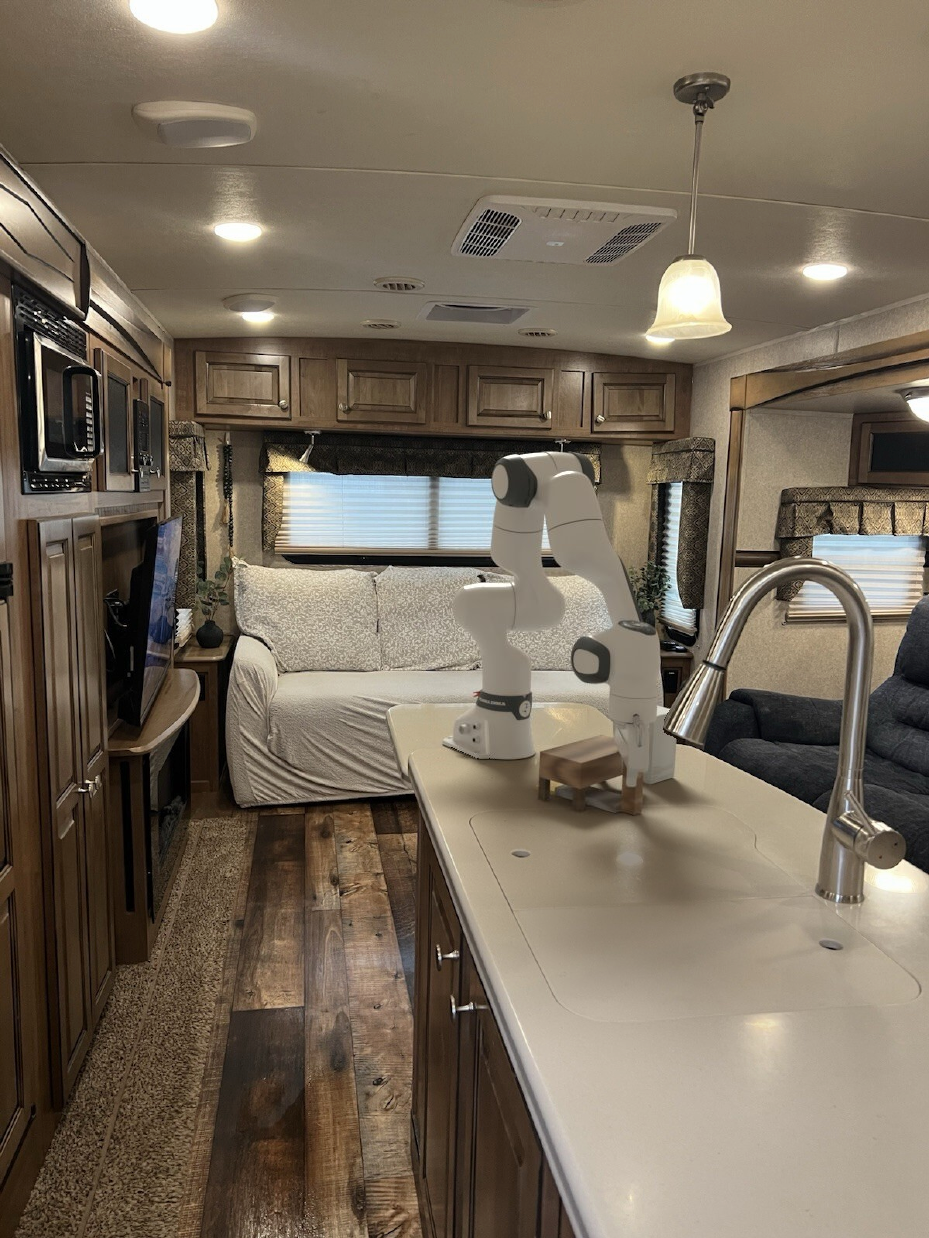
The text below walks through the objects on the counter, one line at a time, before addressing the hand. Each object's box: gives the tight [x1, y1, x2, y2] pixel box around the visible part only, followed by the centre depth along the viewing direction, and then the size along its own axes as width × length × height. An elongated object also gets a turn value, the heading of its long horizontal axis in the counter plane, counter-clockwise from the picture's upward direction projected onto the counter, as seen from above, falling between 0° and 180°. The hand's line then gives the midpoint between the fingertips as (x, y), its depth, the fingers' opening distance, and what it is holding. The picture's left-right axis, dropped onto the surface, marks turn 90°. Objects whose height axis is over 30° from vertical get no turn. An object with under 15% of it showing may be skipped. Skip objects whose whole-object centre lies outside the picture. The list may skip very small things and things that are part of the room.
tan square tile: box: [534, 780, 564, 796], centre depth 185 cm, size 5×5×1 cm
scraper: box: [554, 746, 644, 816], centre depth 176 cm, size 18×6×14 cm, turn 45°
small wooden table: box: [537, 734, 622, 813], centre depth 181 cm, size 10×20×10 cm, turn 135°
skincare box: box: [643, 705, 677, 785], centre depth 193 cm, size 8×6×15 cm
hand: (628, 781), depth 172 cm, fingers open, 4 cm apart
